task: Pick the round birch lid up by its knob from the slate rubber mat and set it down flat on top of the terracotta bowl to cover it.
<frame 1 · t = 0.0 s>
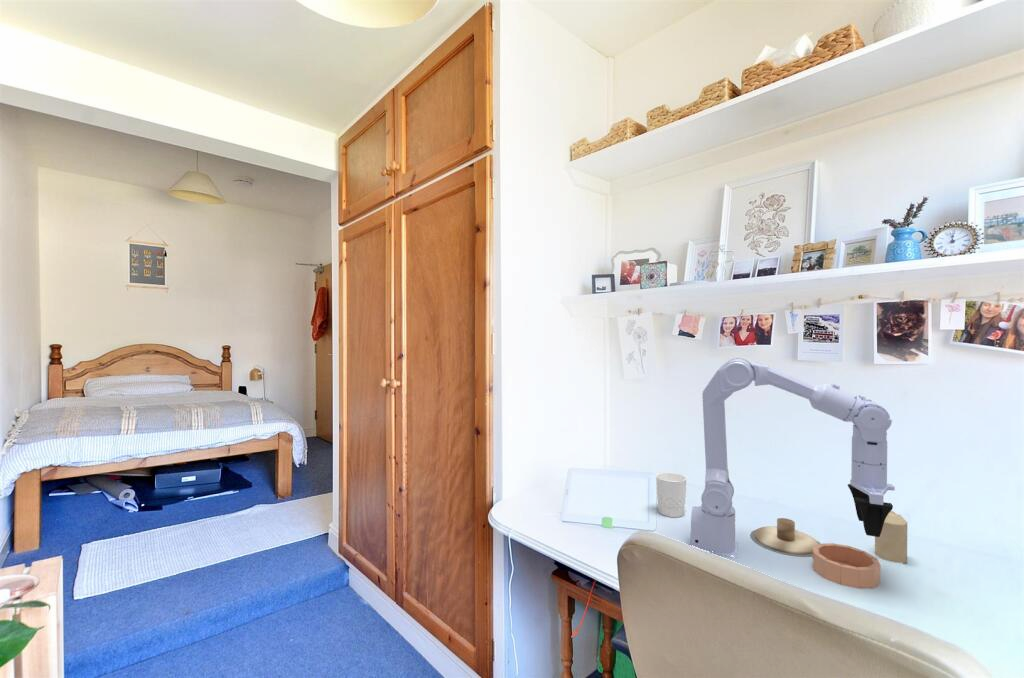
hand: (868, 528, 95), 10 cm above the table, tool pointing down, fingers open, 7 cm apart
white cup: (671, 513, 129), on the table
mat: (785, 543, 110), on the table
bowl: (845, 575, 96), on the table
candle: (890, 558, 103), on the table
lid: (785, 541, 110), resting on mat
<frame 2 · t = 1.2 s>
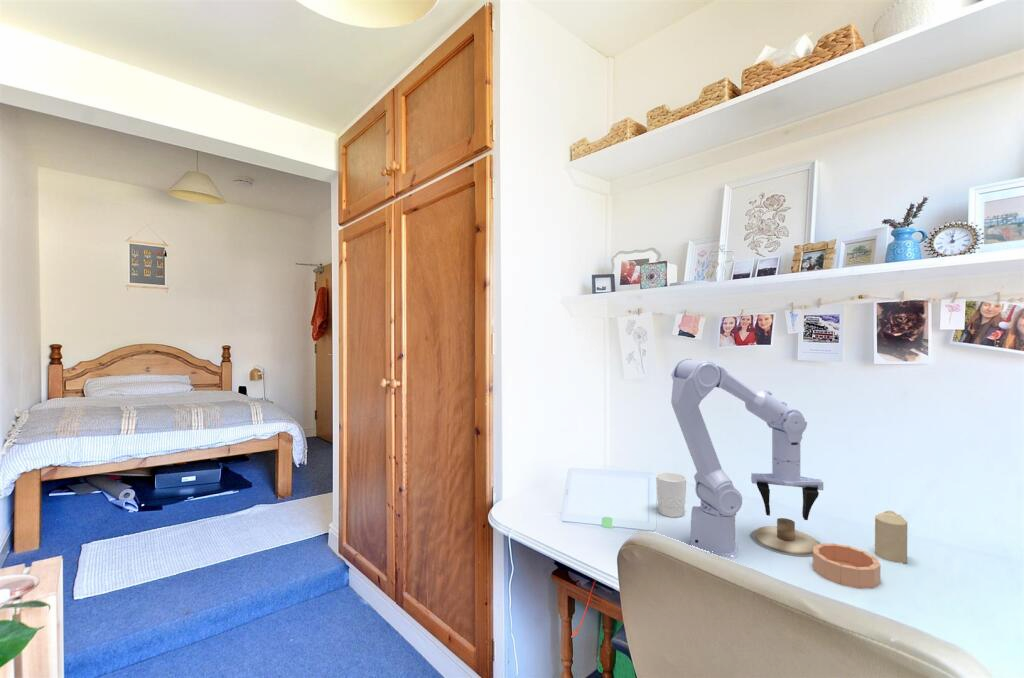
hand: (786, 516, 110), 6 cm above the table, tool pointing down, fingers open, 7 cm apart
nothing on the table moved.
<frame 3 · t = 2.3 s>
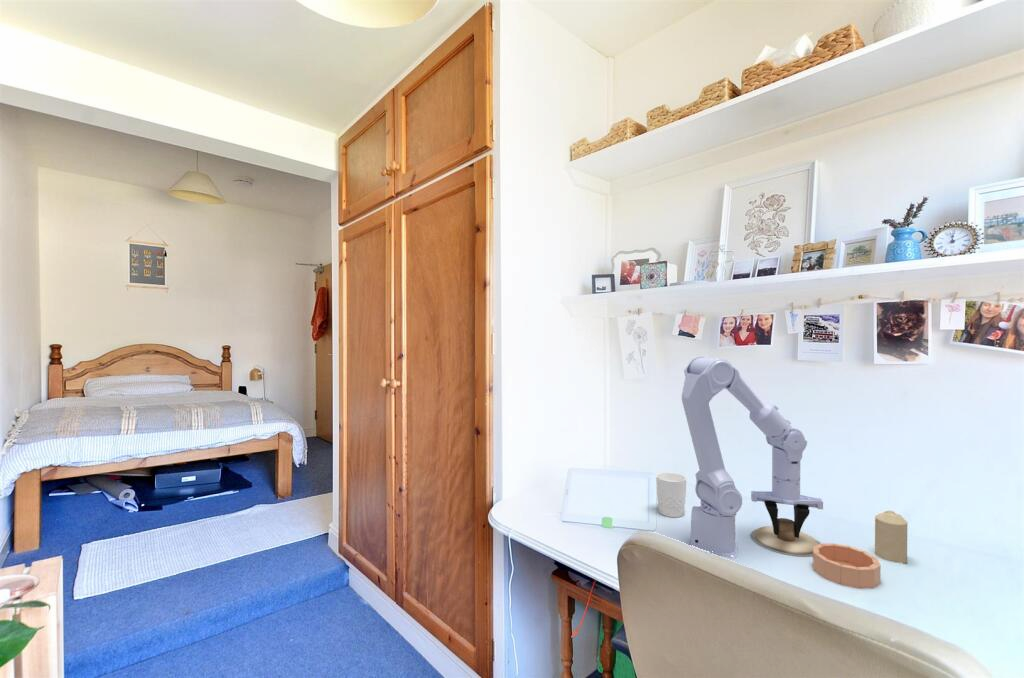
hand: (785, 534, 110), 2 cm above the table, tool pointing down, fingers closed on lid, 4 cm apart
lid: (785, 541, 110), resting on mat, touching gripper
everything else where it was.
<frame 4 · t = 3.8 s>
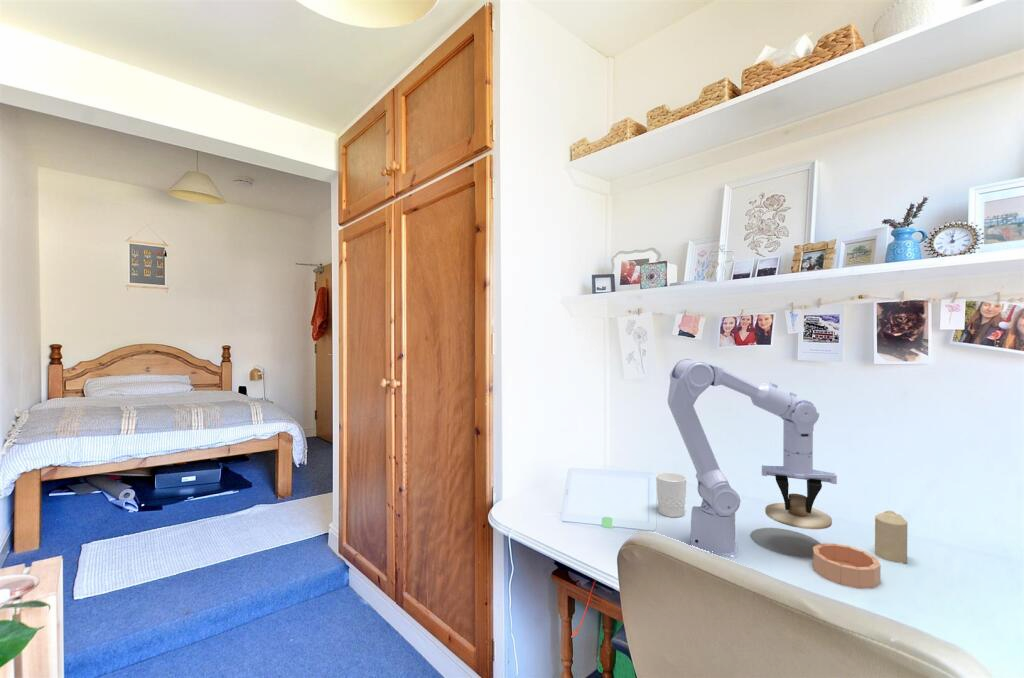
hand: (797, 510, 107), 9 cm above the table, tool pointing down, fingers closed on lid, 4 cm apart
lid: (797, 517, 107), point 7 cm above the table, touching gripper
everything else where it was.
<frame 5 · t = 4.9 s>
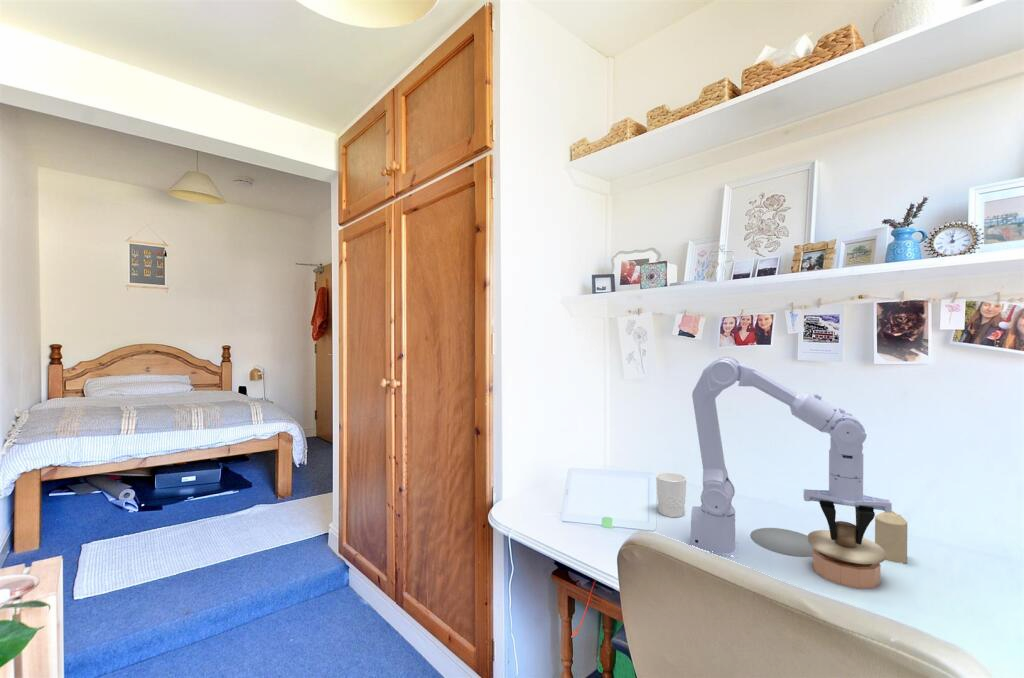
hand: (845, 540, 96), 7 cm above the table, tool pointing down, fingers closed on lid, 4 cm apart
lid: (845, 547, 96), point 6 cm above the table, touching gripper
everything else where it was.
when the fingers open (7 cm above the table, at t = 5.4 s): lid stays where it is, resting on bowl.
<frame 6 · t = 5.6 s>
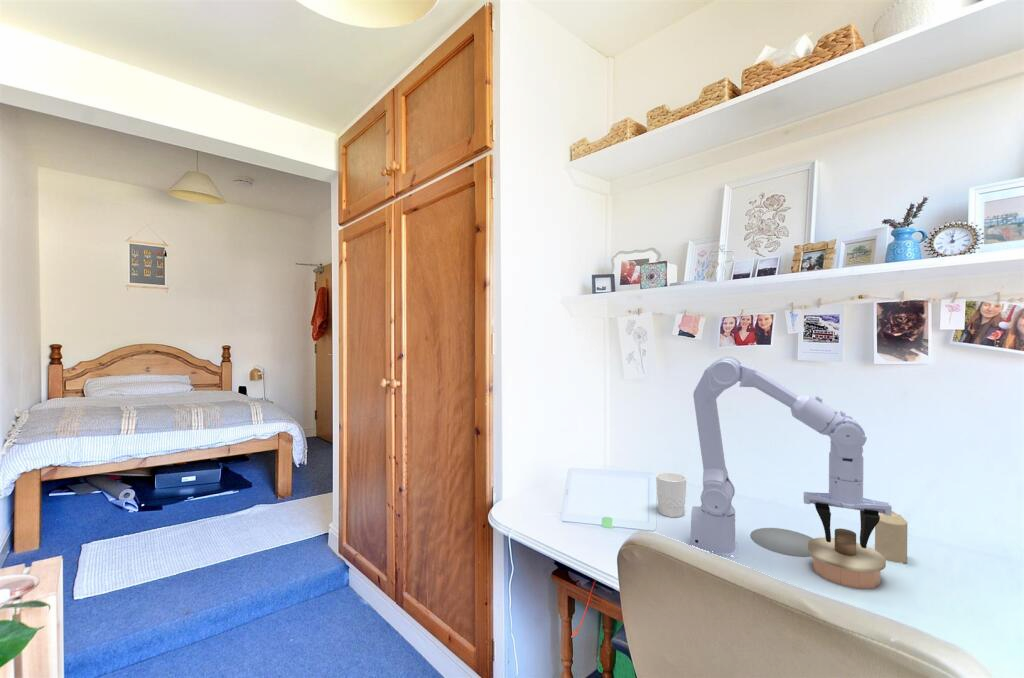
hand: (845, 543, 96), 7 cm above the table, tool pointing down, fingers open, 5 cm apart
lid: (845, 555, 96), point 4 cm above the table, touching bowl
everything else where it was.
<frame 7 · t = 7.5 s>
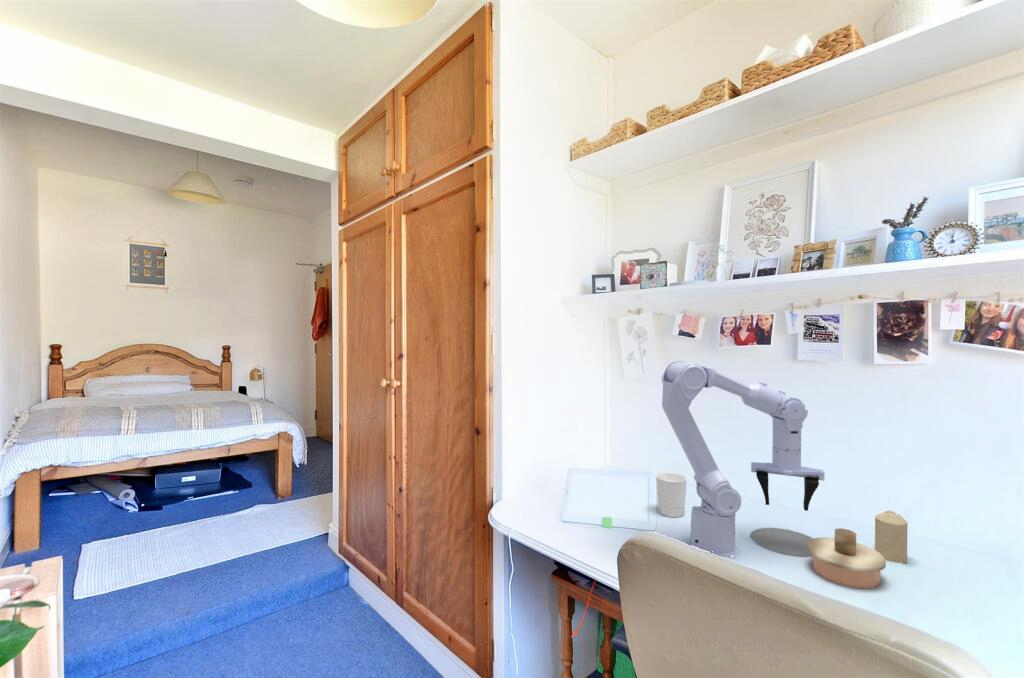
hand: (786, 506, 108), 9 cm above the table, tool pointing down, fingers open, 7 cm apart
nothing on the table moved.
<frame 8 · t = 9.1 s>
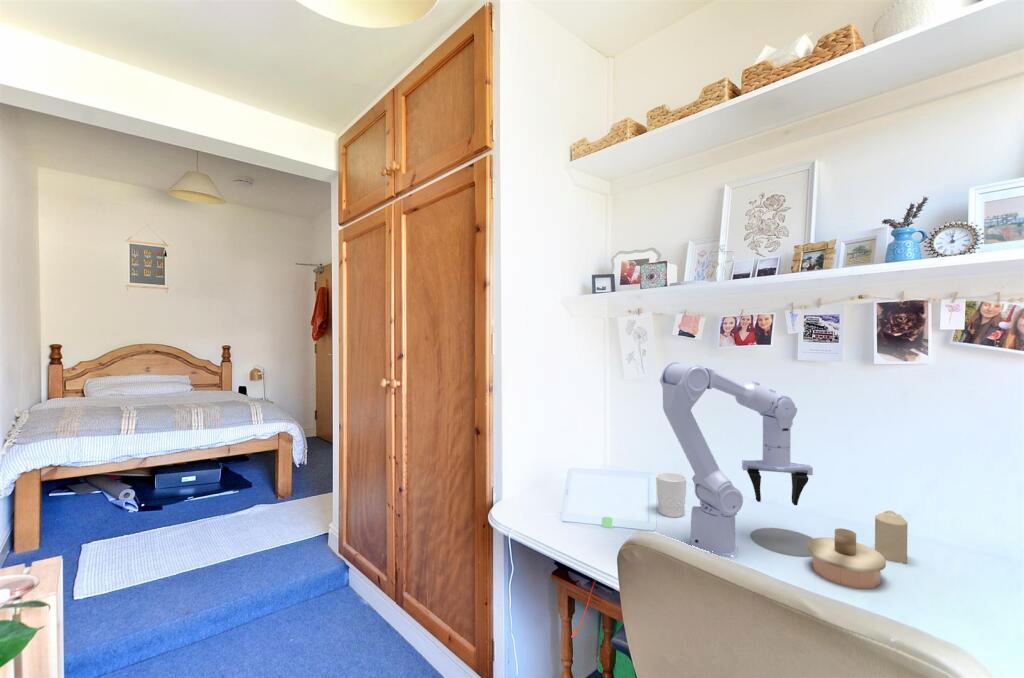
hand: (776, 502, 111), 9 cm above the table, tool pointing down, fingers open, 7 cm apart
nothing on the table moved.
at the end: lid 0.1 cm off-centre on the bowl, point 4.0 cm above the bowl's base; lid tilted 0°; the gripper is holding nothing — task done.
